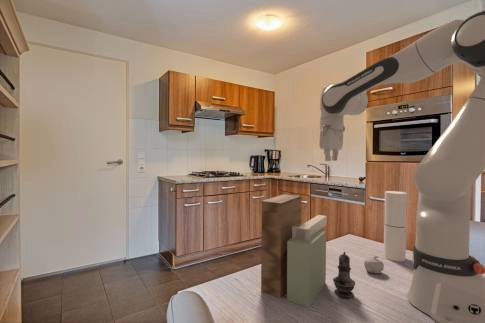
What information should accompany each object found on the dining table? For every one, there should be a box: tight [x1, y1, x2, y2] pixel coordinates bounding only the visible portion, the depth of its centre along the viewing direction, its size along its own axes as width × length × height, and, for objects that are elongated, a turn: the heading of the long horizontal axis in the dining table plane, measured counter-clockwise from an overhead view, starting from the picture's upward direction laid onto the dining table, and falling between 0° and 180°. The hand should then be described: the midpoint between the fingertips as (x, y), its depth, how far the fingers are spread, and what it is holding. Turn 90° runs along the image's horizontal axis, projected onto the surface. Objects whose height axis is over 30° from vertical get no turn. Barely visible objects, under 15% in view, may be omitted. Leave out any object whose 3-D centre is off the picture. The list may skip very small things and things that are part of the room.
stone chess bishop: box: [332, 251, 356, 300], centre depth 73 cm, size 6×6×12 cm
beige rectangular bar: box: [292, 214, 328, 241], centre depth 79 cm, size 5×20×3 cm, turn 146°
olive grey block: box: [286, 229, 327, 308], centre depth 74 cm, size 6×15×16 cm, turn 146°
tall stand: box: [260, 194, 302, 298], centre depth 79 cm, size 6×15×26 cm, turn 146°
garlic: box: [363, 255, 385, 274], centre depth 87 cm, size 6×5×5 cm
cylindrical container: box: [383, 190, 408, 262], centre depth 99 cm, size 7×7×25 cm
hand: (331, 160), depth 104 cm, fingers open, 8 cm apart
